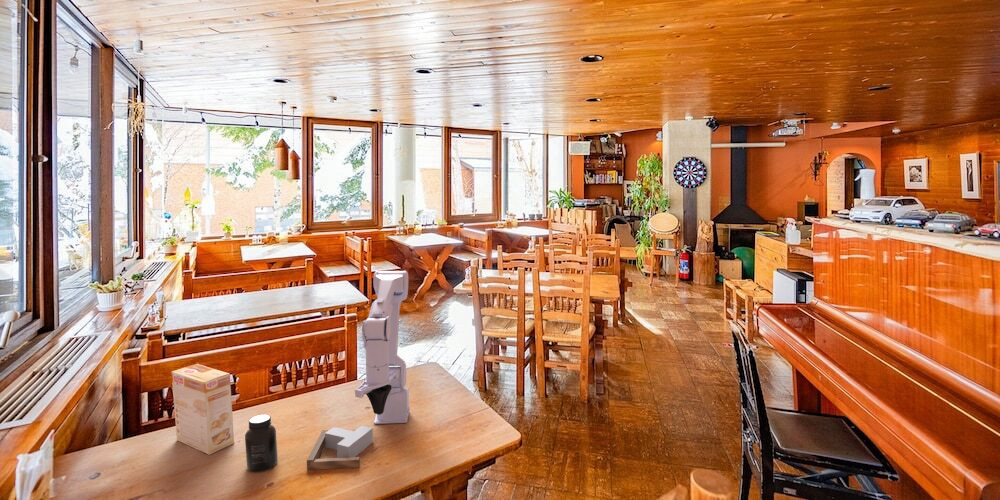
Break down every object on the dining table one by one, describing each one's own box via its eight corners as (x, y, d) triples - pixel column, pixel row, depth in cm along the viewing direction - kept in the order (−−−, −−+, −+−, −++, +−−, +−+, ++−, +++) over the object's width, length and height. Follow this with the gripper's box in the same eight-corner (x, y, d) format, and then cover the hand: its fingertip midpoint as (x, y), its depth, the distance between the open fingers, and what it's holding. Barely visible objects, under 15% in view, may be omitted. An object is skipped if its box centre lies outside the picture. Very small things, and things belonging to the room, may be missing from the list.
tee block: (372, 442, 128) (372, 428, 128) (348, 461, 119) (348, 446, 118) (342, 435, 132) (341, 421, 131) (316, 453, 122) (316, 439, 122)
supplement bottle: (284, 460, 119) (281, 414, 118) (262, 475, 113) (259, 427, 111) (262, 454, 121) (260, 410, 120) (240, 469, 115) (237, 422, 114)
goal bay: (368, 436, 131) (368, 428, 130) (359, 467, 116) (358, 457, 116) (322, 438, 129) (322, 430, 129) (307, 469, 115) (306, 460, 115)
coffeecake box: (235, 443, 127) (231, 373, 124) (208, 456, 121) (203, 382, 118) (202, 429, 134) (197, 362, 131) (175, 440, 128) (169, 371, 125)
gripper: (383, 352, 131) (384, 398, 133) (345, 370, 118) (346, 421, 120) (404, 356, 128) (405, 404, 130) (367, 375, 115) (368, 428, 117)
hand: (378, 413), depth 125 cm, fingers closed
